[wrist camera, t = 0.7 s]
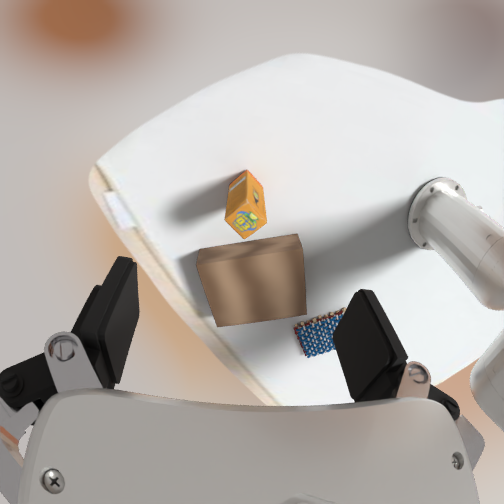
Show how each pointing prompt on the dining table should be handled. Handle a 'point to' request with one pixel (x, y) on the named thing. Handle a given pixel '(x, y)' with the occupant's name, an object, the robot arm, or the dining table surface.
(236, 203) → the supplement box
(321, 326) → the woven mat
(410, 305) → the dining table surface
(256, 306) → the walnut stand
